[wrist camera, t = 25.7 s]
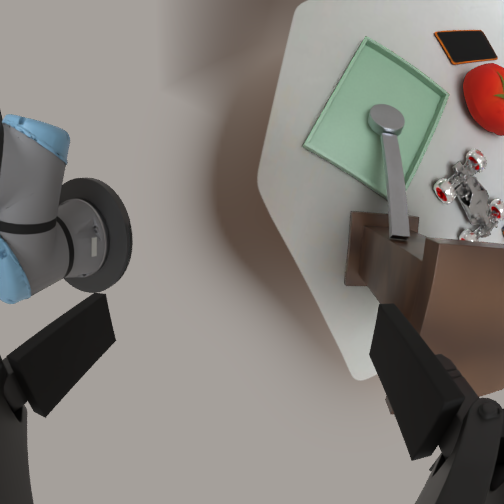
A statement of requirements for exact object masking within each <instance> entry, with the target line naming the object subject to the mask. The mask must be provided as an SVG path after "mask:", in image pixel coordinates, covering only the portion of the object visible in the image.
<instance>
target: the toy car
mask: <svg viewBox="0 0 504 504" xmlns="http://www.w3.org/2000/svg"><path fill="white" fill-rule="evenodd" d="M466 159H467V160H466V162H465V163H464V165H462V164H461V162H459V161H458V162H457V163H456V164H455V165H454V166H453V170H454V172H455V174H453V175H452V176H451V177H449V178H448V179H447V180H446V179H444V178H443V179H442V178H441V179H439V180H438V181H436V183H435V184H434V186H433V187H434V190H435V193H436V195H437V196H438V198H439V199H440V200H441V201H442V202H443V203H446V204H449V203H452V201H453V200H455V197H456V191H457V190H458V191H457V197H458V199H459V201H460V203H461V205H462V207H463V209H464V211H465V213H466V215H467V217H468V219H469V221H470V224H472V225H477V224H479V225H480V226H479V227H478V228H476V229H475V230H474V231H473V232H472V231H471V230H469V229H466V230H465V231H463V232H462V233H461V234H460V236H459V240H465V241H477V242H478V238H479V237H482V238H483V237H487V236H489V235H491V233H490V231H492V229H493V228H494V227H496V228H497V224H498V221H501V220H503V219H504V202H503V201H502V200H501V199H497V198H496V199H493V200H492V202H491V203H490V204H488V198H489V195H488V193H487V191H486V190H485V188H484V187H483V186H482V185H481V184H480V183H479V182H478V180H477V178H476V177H472V176H473V175H474V173H475V174H476V173H478V172H479V173H480V172H482V171H483V170H484V169H485V167H486V164H487V163H486V161H487V160H486V159H485V157H484V155H483V154H482V153H481V151H479V150H478V149H472V150H470V151H469V152H468V153H467V155H466ZM467 162H468V164H467ZM468 165H469V166H468ZM465 166H466V168H465ZM470 170H471V171H470ZM454 176H455V178H454V179H452V178H453V177H454ZM449 179H450V180H449ZM448 180H449V181H448ZM450 182H452V183H450ZM457 185H459V187H458V188H457V189H456V190H455V189H454V188H455V187H456V186H457ZM489 205H490V206H489ZM489 208H490V212H491V213H490V214H489V216H488V217H487V214H488V210H489ZM492 215H493V216H492ZM490 220H491V222H490ZM496 220H497V221H496ZM493 222H494V223H493ZM480 228H481V230H480ZM476 231H477V232H476ZM479 232H480V234H479ZM486 233H487V234H486ZM482 234H484V235H482ZM476 236H477V237H476Z"/></svg>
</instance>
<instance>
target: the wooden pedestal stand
mask: <svg viewBox="0 0 504 504" xmlns="http://www.w3.org/2000/svg"><path fill="white" fill-rule="evenodd" d="M408 218H409V232H410V237H409V238H408V239H407V240H401V239H392V238H389V216H388V214H383V213H371V212H357V211H351V215H350V230H349V242H348V253H347V263H346V272H345V281H344V284H345V285H346V286H368V287H369V289H370V290H371V291H372V293H373V294H374V296H375V297H376V298H377V300H378V301H379V302H380V304H393V303H394V304H395V305H396V306H397V308H398V309H399V310H400V311H401V312H402V314H403V315H404V316H405V317H406V318H407V320H408V321H409V322H410V323H411V325H412V326H413V327H414V328H415V330H416V331H417V332H418V333H419V335H420V336H421V337H422V339H423V340H424V341H425V342H426V344H427V345H428V346H429V348H430V349H431V350H432V352H433V353H434V354H435V355H436V354H442V355H444V356H445V357H447V358H448V359H450V360H451V361H452V362H453V363H454V365H455V366H456V367H457V370H459V371H460V372H461V374H462V376H464V378H465V379H466V380H467V382H468V383H469V384H470V386H471V387H472V388H473V390H474V391H475V393H476V394H477V395H478V397H480V396H483V395H486V394H490V393H493V392H496V391H499V390H502V389H503V388H504V244H498V243H487V242H477V241H465V240H454V239H442V238H429V237H426V236H424V235H421V234H419V233H418V224H419V217H416V216H408ZM385 400H386V403H387V405H388V408H389V411H390V414H394V412H393V410H392V407H391V405H390V402H389V400H388V397H387V396H386V399H385Z"/></svg>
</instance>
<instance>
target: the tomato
mask: <svg viewBox="0 0 504 504" xmlns="http://www.w3.org/2000/svg"><path fill="white" fill-rule="evenodd" d="M463 90H464V97H465V100H466V103H467V106H468V109H469V112H470V114H471V115H472V117H473V118H474V120H475V121H476V122H477V123H478V124H479V125H480V126H482V127H483V128H484V129H486V130H487V131H490V132H494V133H495V134H497V135H501V136H502V135H504V68H503V67H501V66H499V65H496V64H494V63H488V64H484V65H481V66H478V67H476V68H474V69H472V70H471V71H469V72H468V73H467V74H466V76H465V79H464V83H463Z"/></svg>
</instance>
